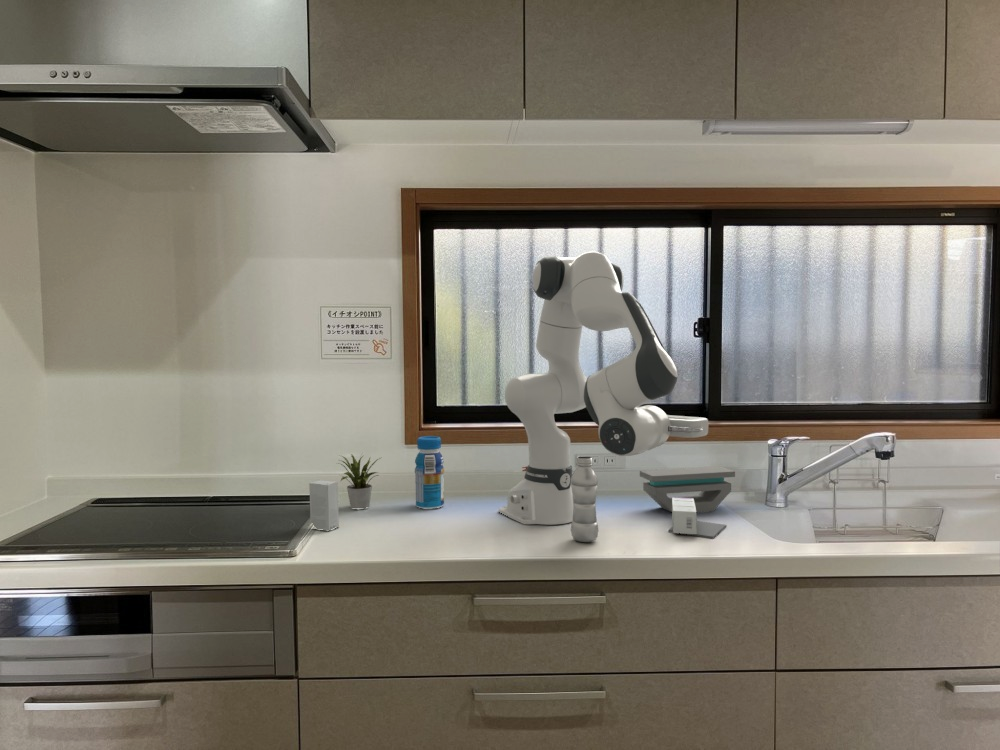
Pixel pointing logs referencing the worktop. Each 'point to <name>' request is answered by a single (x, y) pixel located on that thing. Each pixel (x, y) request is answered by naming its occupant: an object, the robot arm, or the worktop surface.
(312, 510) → the skincare box
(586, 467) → the plastic bottle
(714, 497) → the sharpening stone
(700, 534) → the mat
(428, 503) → the beverage bottle
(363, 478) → the house plant
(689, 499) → the syrup box
